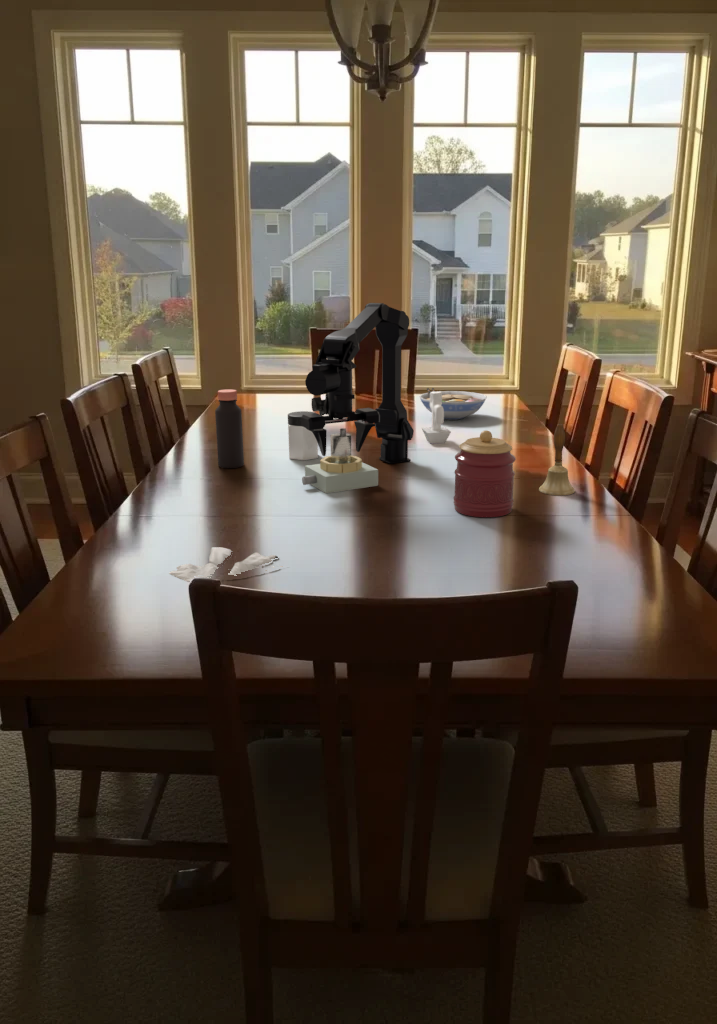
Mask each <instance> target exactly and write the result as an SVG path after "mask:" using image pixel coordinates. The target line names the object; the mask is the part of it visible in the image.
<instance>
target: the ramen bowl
mask: <svg viewBox="0 0 717 1024" xmlns="http://www.w3.org/2000/svg"><path fill="white" fill-rule="evenodd" d="M426 391H427V392H425V393H422V394H421V393H420V395H419V399H420V402H421V403H422V404H423V405H422V406H424V408H425V409H426V410H427V411H429V412H430V413H432V410H431V409H430V393H431V392H433V391H434V392H439V391H441V392H442V404H441V406H442V407H443V409H444V420H450V421H451V420H454V421H455V420H462V419H465V417H469V416H470V415H473V414H475V413H477V412H478V411H479V410H480V409H481V408H482V406H483V405H484V403H485V401H486V399H487V398H488V397H487V395H485V394H483V393H478V392H473V391H471V392H470V391H463V390H461V391H460V390H439V391H438V390H437V391H435V388H434V387H432V388H431V390H430V388H429V387H427V388H426Z"/></svg>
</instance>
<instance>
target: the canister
mask: <svg viewBox="0 0 717 1024" xmlns="http://www.w3.org/2000/svg"><path fill="white" fill-rule="evenodd" d="M458 448H459V449H460V452H457V453H456V454H455V455H454V459H455V460H456V463H457V464H456V468H455V469H454V475H455V476H454V496H453V505H454V510H455V512H457V513H459V514H462V515H465V516H469V517H475V518H498V517H502V516H507V515H508V514H510V513H512V511H513V506H514V500H515V499H514V484H515V483H514V481H515V474H516V473H515V471H514V462H516V459H517V458H516V456H515V455H514V454H512V453H511V451H512V450H513V447H512V445H511V444H509V443H507V441H506V440H505V439H501V438H499V437H493V434H492V432H491V431H489V430H482V431H481V433H480V434H479V437H471V438H467V439H466V440H465V441H464V442H462V443H460V444H459V446H458Z"/></svg>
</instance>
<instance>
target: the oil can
mask: <svg viewBox="0 0 717 1024" xmlns="http://www.w3.org/2000/svg"><path fill="white" fill-rule="evenodd" d="M330 456H331V463H338V464H344V463H351V456H352V435H351V433H347V429H346V428H344V427H343V428H340V429H339V432H337V433H332V434H330Z"/></svg>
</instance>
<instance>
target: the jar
mask: <svg viewBox="0 0 717 1024" xmlns="http://www.w3.org/2000/svg"><path fill="white" fill-rule="evenodd" d="M312 413H316V411H314V412H313V411H307V410H306V411H303V410H302V411H301V410H300V411H293V412H290V413H288V414H287V424H288V427H287V430H288V433H287V434H288V458H289V459H290V460H297V461H298V460H299V461H307V460H314V459H318V458H319V454H318V453H319V451H318V450H319V445H318V443H317V440H316V438H315V436H314V434H313V433H312V431H309V430H307V429H306V428H305V427H302V426H301V420H300V419H301V417H302V415H303V414H312Z"/></svg>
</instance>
